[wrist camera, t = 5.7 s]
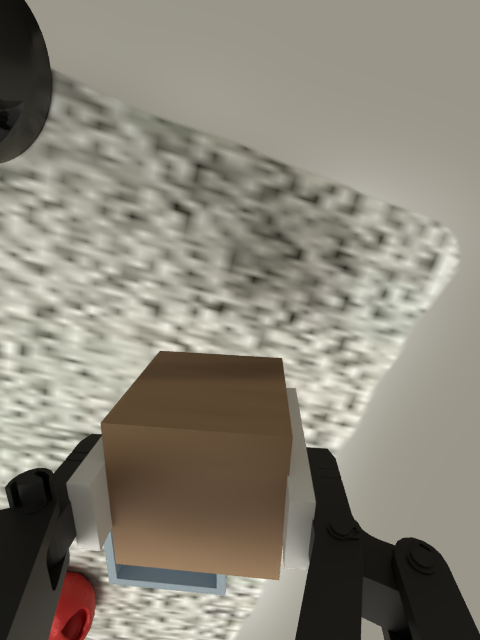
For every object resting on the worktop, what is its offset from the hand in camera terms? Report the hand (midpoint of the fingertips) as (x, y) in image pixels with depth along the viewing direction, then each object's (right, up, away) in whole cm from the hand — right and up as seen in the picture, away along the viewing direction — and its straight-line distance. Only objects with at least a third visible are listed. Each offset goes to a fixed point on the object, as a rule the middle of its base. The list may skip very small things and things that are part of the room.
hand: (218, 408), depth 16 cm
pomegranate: (-23, -34, +30) cm, 51 cm away
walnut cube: (0, 0, +1) cm, 1 cm away
